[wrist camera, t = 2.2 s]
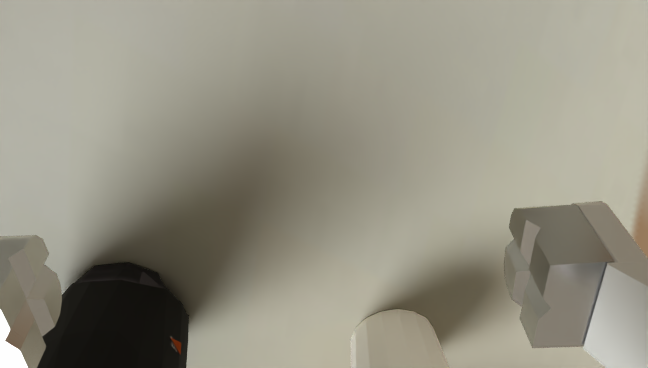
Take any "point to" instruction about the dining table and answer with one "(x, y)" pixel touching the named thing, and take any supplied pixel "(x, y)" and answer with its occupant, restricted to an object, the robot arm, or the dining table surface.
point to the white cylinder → (396, 342)
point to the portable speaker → (118, 322)
